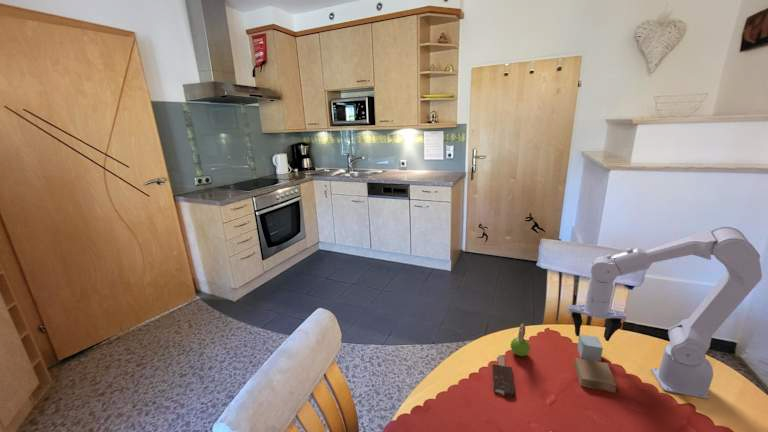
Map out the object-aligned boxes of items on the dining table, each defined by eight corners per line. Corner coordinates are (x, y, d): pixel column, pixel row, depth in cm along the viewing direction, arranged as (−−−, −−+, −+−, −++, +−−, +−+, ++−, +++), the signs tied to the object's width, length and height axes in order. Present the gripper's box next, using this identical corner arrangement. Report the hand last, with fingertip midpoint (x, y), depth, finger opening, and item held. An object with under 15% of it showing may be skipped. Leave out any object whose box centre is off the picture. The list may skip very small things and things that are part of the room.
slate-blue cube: (595, 350, 99) (598, 337, 98) (600, 361, 95) (602, 348, 93) (577, 347, 101) (579, 334, 100) (581, 358, 97) (583, 344, 95)
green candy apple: (508, 359, 97) (511, 325, 94) (511, 345, 103) (514, 313, 99) (527, 364, 95) (531, 330, 91) (529, 350, 100) (533, 318, 97)
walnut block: (605, 371, 92) (607, 363, 91) (614, 393, 85) (616, 384, 84) (574, 365, 94) (575, 357, 93) (580, 387, 87) (581, 378, 86)
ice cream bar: (491, 356, 99) (494, 396, 85) (492, 352, 99) (494, 391, 85) (509, 359, 98) (515, 399, 84) (510, 355, 97) (515, 395, 84)
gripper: (623, 293, 93) (615, 332, 97) (567, 286, 98) (561, 324, 102) (632, 306, 87) (623, 347, 91) (572, 299, 92) (566, 338, 96)
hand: (591, 336), depth 96 cm, fingers open, 7 cm apart
